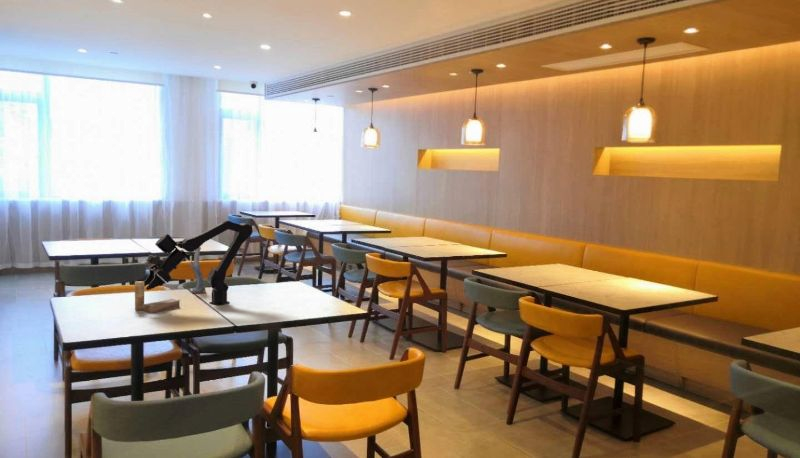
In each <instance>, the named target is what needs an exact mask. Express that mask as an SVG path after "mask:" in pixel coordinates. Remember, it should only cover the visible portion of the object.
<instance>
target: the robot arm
mask: <svg viewBox="0 0 800 458" xmlns="http://www.w3.org/2000/svg"><path fill="white" fill-rule="evenodd" d="M228 230H230V231H233V232H234V235H233V239H232V241H231V243H230V244H229V246H228V247H227V250H226V251H225V253H224V255H223V257H222V258H221V259H220V262H219V264H218V265H217V266H216V268H211V269H210V271H209V272H208V274H207V275H206V276H207V279H206V281H207V284H208V285H209V286H210V287H211V289H212V290H211V301H209V304H212V305H215V306H216V305H218V306H221V305H225V304H230V301H228V290H229V285H228V284H227V283H225V280H226V276H227V271H228V269H229V268H230V266H231V264H232V262H233V260H234V259H235V257H236V255H237V253H238V252H239V250H240V248H241V247H242V245H243V244H244V243H245V242H246V241H247V240H248V239H249V238H250V237H251V235H252V234H253V231H254V229H253V227H252V226H251V225H250V224H248V223H245V222H242V223H236V222H232V221H230V220H227V219H224V220H223V221H222V222H219V223H218V224H216V225H213V226H212V227H210V228H208V229H206V230H204V231H203V232H201V233H198V234H195V235H192V236H188V237H185V238H184V239H183V240H180V241H175V240H174V239H173V238H172V237H171V235H170V234H168V233H166V234H165V235H163V236H162V237H160V238H159V239H158V240H157V241H156V242H155V243H154V245H155V246H156V247H157V248H158V249H159V250H161V251H162V252H163V254H168V255H167V256H166V257H163V258H161V256H158V255H152V254H149V255H148V257H147V259H146V262H147V263H149V264H151V265H149V268H148V270H149V271H148V272H149V273H148V275H147V277H146V278H145V280H144V287H145V289H146V291H150V290H152V289H154V288H157V287H159V286H162V285H165V284H168V283H169V282H171V281H172V276H171V275H170V274H171V273H172V272H173V271H174V270H177V268H178V266H179V265H180V264H181V263H182V262H183V261H184V260H185V259H186V260H187V261H189V262H191V254H190V253H193V252H194V253H195V250H197V249H198V248H199V247H201V246H203V244H204V243H206V242H207V241H209V240H211V239H213V238H215V237H217V236H218V235H220V234H223V233H224V232H227V231H228ZM180 249H181V250H180ZM185 251H186V252H185ZM187 252H189V253H187Z"/></svg>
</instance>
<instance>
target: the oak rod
mask: <svg viewBox="0 0 800 458" xmlns="http://www.w3.org/2000/svg"><path fill="white" fill-rule="evenodd" d="M144 281H145V280H144ZM144 281H140V280H139V281H134V311H135V310H136V312H137V311H138V312H142V311H143V312H144V304H145V286H144Z"/></svg>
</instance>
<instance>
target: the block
mask: <svg viewBox="0 0 800 458" xmlns="http://www.w3.org/2000/svg"><path fill="white" fill-rule="evenodd" d="M177 308H180V300H179V299H174V298H169V299H164V300H163V299H162V300H159V301H155V302H154V301H153V302H150V303H144V310H143V312H144V313H145V312H146V313H151V314H153V313H159V312H162V311H163V312H164V311H167V310H172V309H177Z"/></svg>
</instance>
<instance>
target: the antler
mask: <svg viewBox="0 0 800 458" xmlns="http://www.w3.org/2000/svg"><path fill="white" fill-rule="evenodd" d="M201 250H202V248H201V246H200V247H199V248H198V249H197V250H195V251H194V255H193V256H194V257H193V261H189V266H190V267H191V269H192V271H193V274H194V276H195V279H196V280H195V281H196V282H195V283H196V284H195V286H194V287H192V290H191V293H192V294H200V293H205V292H207V291H206V286H205V285H204V282H205V281H204V278H203V273H202V269H201V266H200V265H201V264H200V255H201V254H200V252H201Z"/></svg>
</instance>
